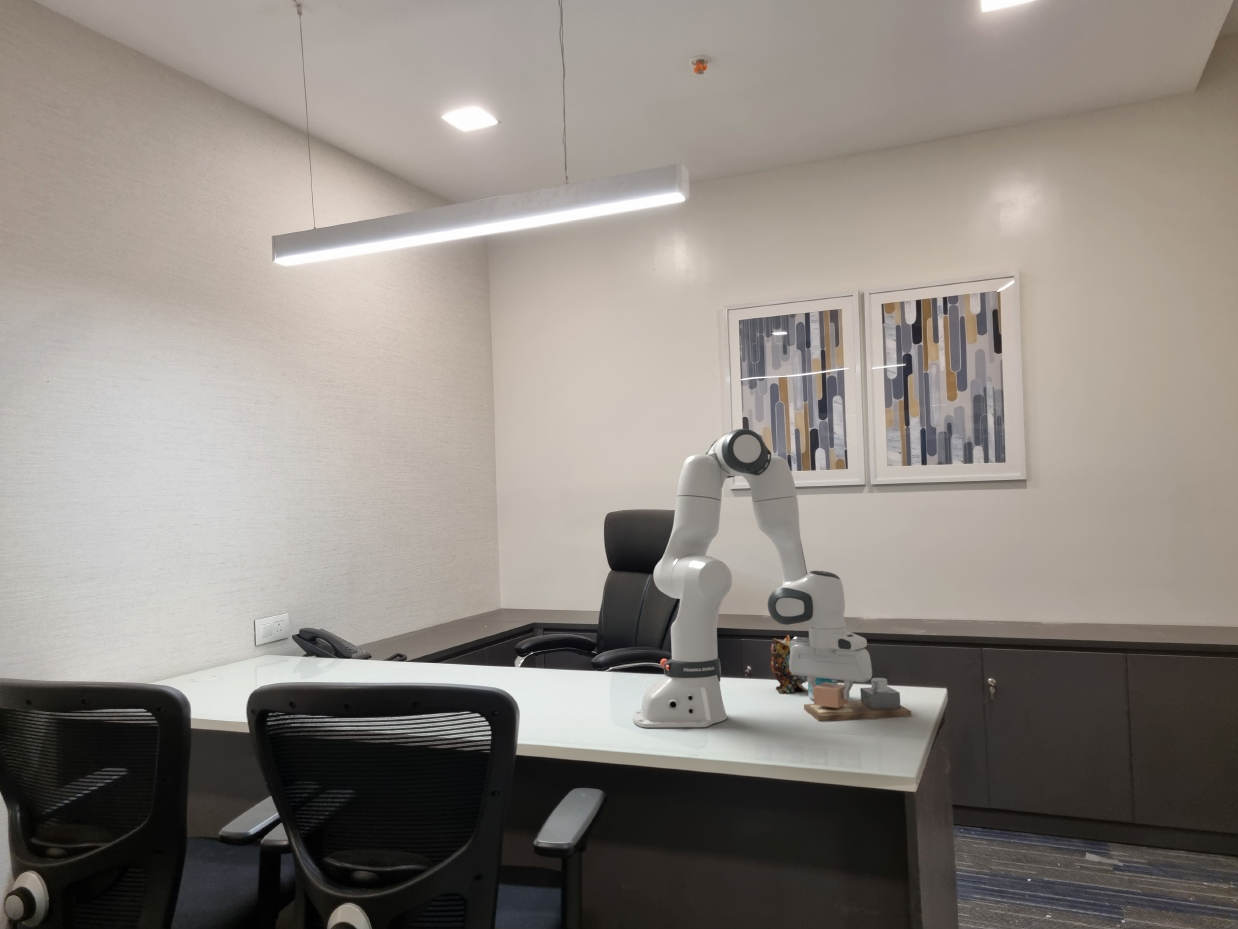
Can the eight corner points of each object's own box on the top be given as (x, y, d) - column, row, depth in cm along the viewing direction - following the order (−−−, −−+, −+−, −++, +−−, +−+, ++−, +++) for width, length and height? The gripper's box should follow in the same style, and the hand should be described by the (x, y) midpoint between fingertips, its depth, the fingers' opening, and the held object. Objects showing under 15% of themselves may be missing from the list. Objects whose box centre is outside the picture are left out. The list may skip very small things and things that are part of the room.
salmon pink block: (814, 704, 199) (813, 686, 199) (824, 699, 204) (824, 682, 204) (837, 708, 195) (837, 690, 195) (848, 702, 200) (847, 685, 200)
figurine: (802, 695, 220) (799, 638, 221) (768, 693, 224) (766, 637, 225) (809, 689, 228) (806, 633, 228) (777, 687, 231) (774, 632, 232)
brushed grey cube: (871, 710, 196) (870, 683, 196) (861, 703, 203) (859, 677, 203) (900, 708, 196) (899, 681, 197) (889, 702, 203) (887, 675, 204)
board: (818, 721, 193) (818, 714, 193) (804, 709, 205) (803, 703, 205) (911, 716, 194) (911, 709, 194) (891, 704, 206) (891, 698, 206)
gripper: (783, 637, 205) (785, 694, 204) (861, 643, 191) (864, 704, 190) (795, 634, 209) (798, 690, 208) (873, 640, 196) (876, 699, 195)
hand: (830, 697), depth 199 cm, fingers closed on salmon pink block, 6 cm apart
